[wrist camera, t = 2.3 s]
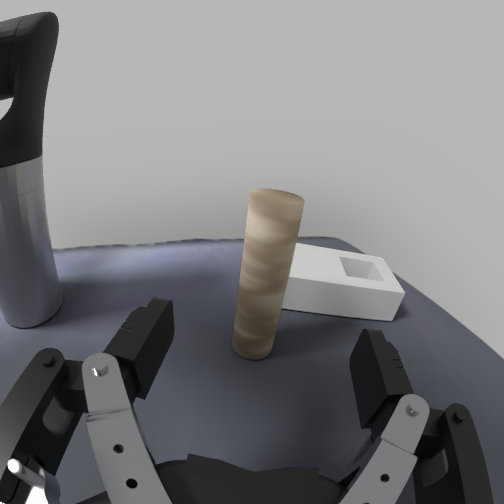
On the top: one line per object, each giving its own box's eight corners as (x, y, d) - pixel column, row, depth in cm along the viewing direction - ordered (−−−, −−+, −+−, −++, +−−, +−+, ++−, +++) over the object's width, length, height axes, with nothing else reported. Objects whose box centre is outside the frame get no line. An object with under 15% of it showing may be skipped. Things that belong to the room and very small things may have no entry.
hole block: (258, 304, 33) (263, 272, 31) (263, 265, 42) (268, 238, 40) (392, 321, 32) (405, 293, 30) (373, 282, 41) (382, 257, 39)
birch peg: (229, 355, 25) (247, 198, 18) (235, 329, 28) (253, 186, 22) (270, 362, 24) (306, 207, 18) (272, 334, 28) (302, 194, 21)
